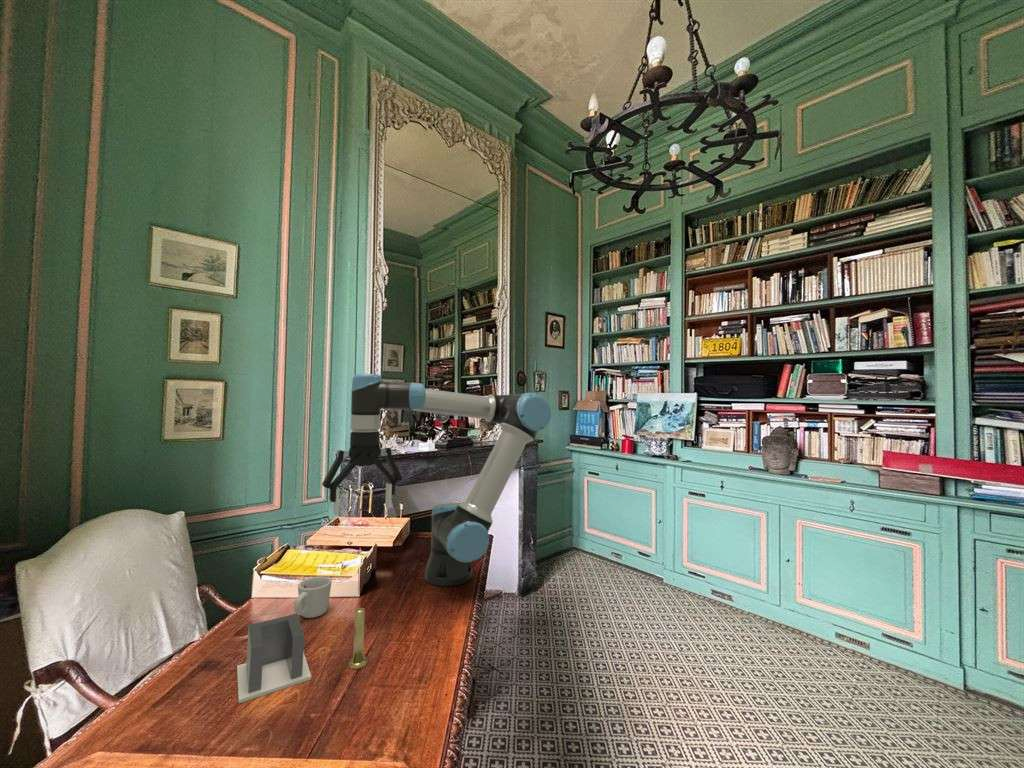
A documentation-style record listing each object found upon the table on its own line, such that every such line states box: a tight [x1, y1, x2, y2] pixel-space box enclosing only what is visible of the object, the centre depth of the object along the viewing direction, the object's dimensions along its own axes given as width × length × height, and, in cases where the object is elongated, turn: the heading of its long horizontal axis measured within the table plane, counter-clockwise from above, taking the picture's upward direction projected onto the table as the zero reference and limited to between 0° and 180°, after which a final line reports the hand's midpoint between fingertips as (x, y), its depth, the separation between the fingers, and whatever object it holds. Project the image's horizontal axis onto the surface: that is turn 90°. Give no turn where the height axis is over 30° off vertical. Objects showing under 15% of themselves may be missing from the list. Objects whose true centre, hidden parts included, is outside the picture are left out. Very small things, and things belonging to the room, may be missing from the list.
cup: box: [293, 575, 333, 619], centre depth 106 cm, size 11×8×8 cm
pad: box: [236, 651, 312, 704], centre depth 83 cm, size 12×12×1 cm
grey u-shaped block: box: [245, 613, 305, 693], centre depth 83 cm, size 9×10×8 cm
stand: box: [348, 607, 368, 670], centre depth 87 cm, size 4×4×11 cm
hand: (363, 510), depth 109 cm, fingers open, 13 cm apart
